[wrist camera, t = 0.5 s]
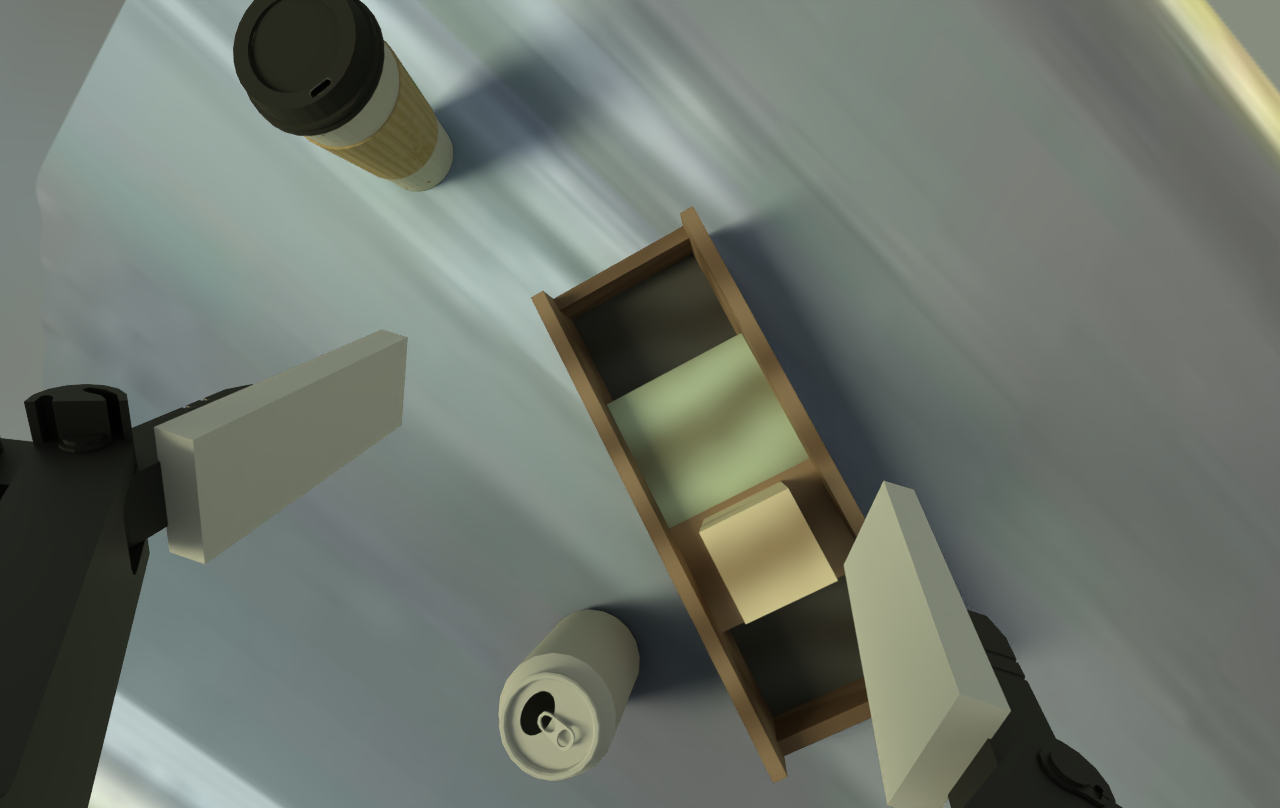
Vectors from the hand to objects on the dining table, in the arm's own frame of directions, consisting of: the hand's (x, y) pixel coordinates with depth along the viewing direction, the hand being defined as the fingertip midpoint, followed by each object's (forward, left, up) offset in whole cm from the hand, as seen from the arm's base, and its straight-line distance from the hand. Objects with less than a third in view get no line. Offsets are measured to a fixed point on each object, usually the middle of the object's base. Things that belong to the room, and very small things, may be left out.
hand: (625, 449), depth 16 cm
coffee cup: (+33, +10, -31) cm, 46 cm away
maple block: (-8, -1, -27) cm, 28 cm away
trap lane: (-4, -1, -31) cm, 31 cm away
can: (-11, +15, -31) cm, 36 cm away
